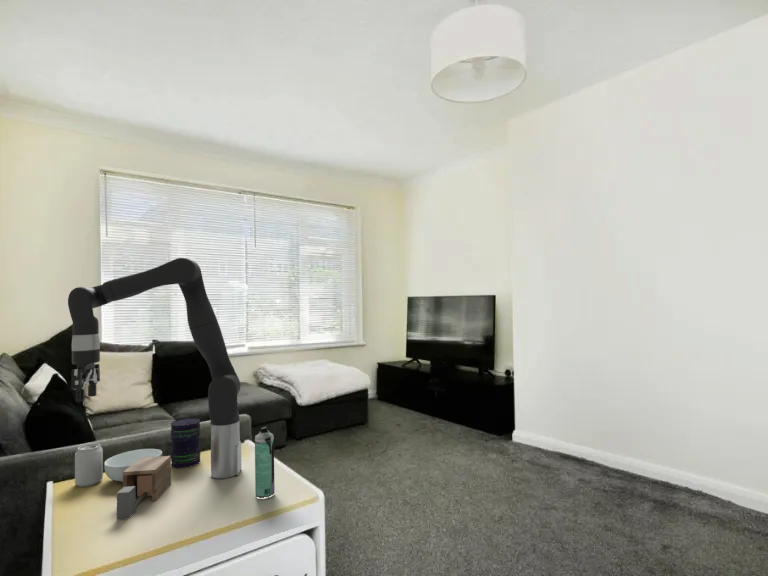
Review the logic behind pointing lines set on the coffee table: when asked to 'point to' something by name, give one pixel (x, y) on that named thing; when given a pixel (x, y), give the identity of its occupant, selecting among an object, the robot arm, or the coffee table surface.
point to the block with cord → (133, 496)
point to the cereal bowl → (126, 462)
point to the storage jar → (185, 443)
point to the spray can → (264, 464)
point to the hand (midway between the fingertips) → (86, 398)
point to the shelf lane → (150, 465)
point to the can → (88, 465)
